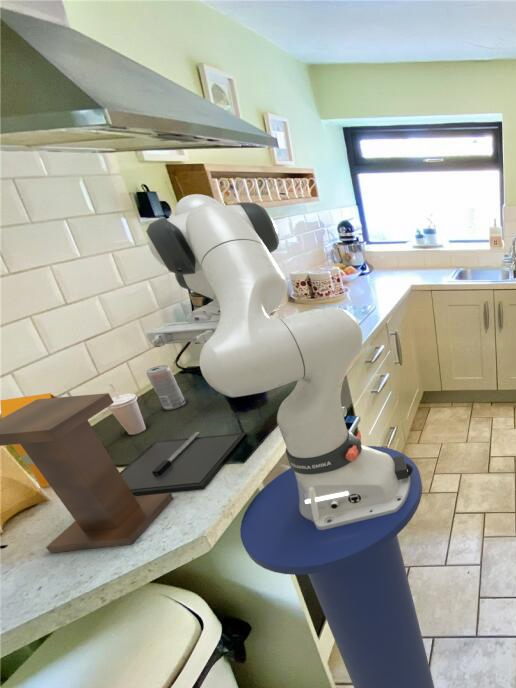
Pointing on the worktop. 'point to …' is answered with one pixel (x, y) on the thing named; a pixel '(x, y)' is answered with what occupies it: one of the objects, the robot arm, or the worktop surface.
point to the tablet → (180, 464)
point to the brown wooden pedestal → (81, 472)
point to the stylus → (173, 456)
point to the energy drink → (166, 387)
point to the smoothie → (127, 412)
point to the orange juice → (6, 409)
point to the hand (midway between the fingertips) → (176, 342)
